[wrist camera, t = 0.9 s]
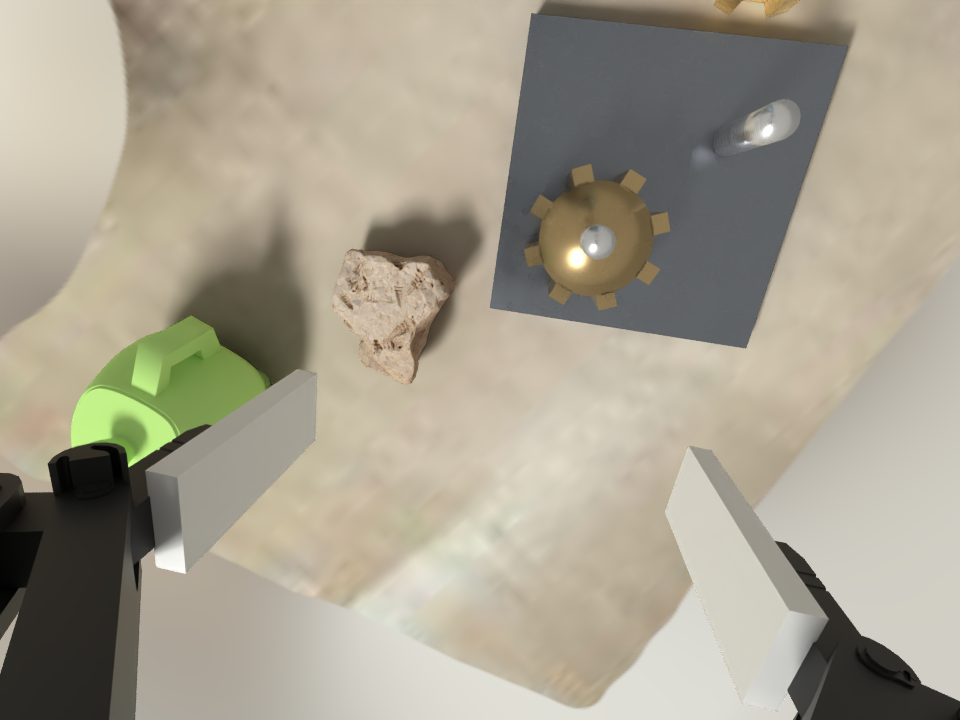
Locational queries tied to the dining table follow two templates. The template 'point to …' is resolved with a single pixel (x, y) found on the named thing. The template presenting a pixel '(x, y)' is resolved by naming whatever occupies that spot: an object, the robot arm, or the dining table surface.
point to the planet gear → (775, 3)
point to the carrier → (656, 174)
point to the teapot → (164, 390)
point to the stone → (391, 307)
